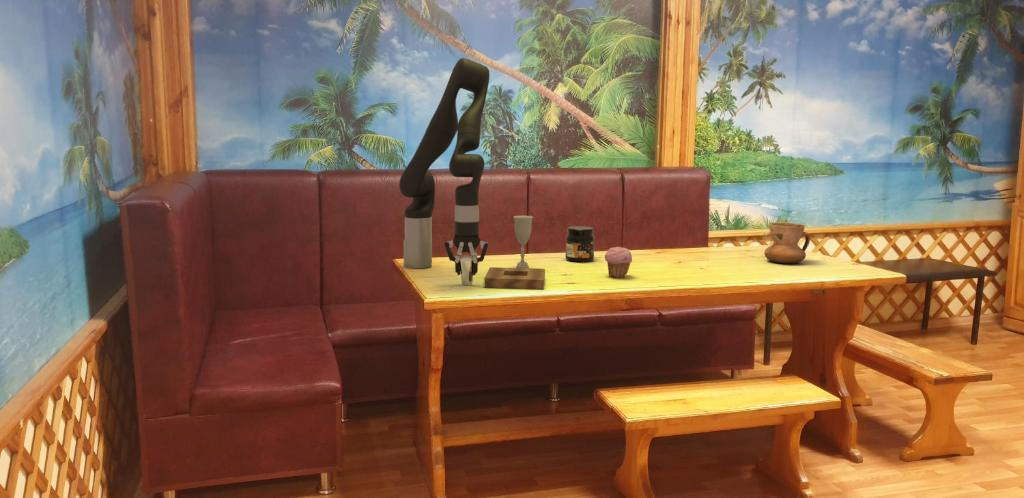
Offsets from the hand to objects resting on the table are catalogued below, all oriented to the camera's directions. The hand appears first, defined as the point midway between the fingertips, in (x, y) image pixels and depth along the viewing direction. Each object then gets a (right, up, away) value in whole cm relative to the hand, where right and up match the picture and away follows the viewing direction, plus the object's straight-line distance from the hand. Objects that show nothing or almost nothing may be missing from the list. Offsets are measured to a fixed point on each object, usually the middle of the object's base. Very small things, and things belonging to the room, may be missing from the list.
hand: (466, 274), depth 247 cm
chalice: (+18, +1, +27) cm, 32 cm away
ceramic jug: (+115, +3, +48) cm, 125 cm away
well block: (+15, -3, +5) cm, 16 cm away
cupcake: (+49, -2, +16) cm, 52 cm away
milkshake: (0, -3, +1) cm, 3 cm away
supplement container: (+39, +3, +46) cm, 60 cm away
